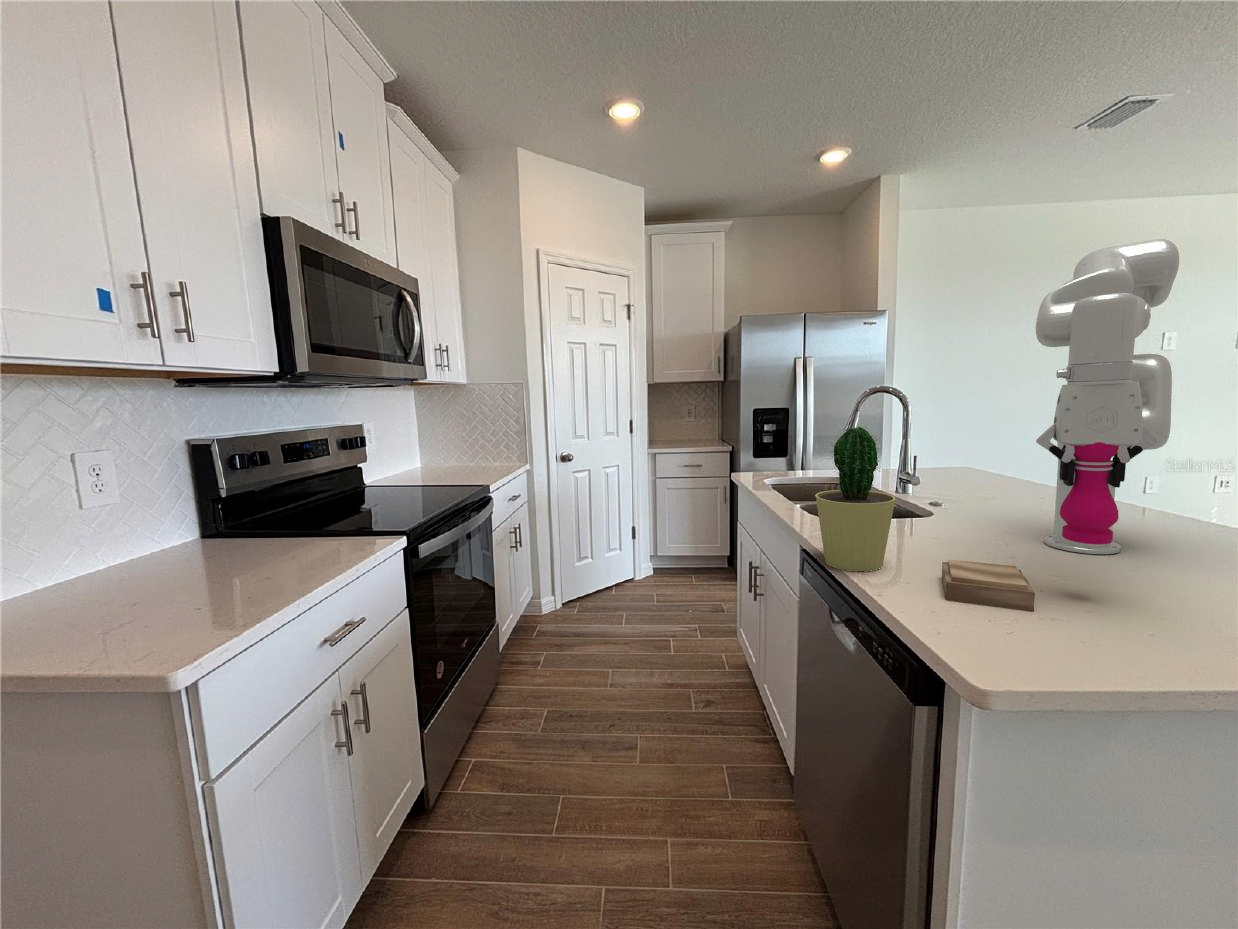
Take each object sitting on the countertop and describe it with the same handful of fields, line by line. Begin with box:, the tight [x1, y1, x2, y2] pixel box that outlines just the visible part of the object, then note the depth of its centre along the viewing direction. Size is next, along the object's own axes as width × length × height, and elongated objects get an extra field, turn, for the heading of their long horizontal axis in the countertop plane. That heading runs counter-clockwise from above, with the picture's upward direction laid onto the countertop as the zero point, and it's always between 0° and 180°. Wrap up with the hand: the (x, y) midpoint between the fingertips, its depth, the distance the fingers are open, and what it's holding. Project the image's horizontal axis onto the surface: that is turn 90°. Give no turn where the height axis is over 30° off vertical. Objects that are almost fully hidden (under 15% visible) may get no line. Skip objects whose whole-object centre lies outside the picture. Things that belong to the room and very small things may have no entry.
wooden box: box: [941, 559, 1036, 612], centre depth 90 cm, size 12×12×4 cm
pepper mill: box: [1060, 442, 1119, 544], centre depth 83 cm, size 7×7×20 cm
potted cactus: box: [814, 424, 896, 573], centre depth 107 cm, size 15×15×30 cm
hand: (1090, 484), depth 84 cm, fingers closed on pepper mill, 5 cm apart
